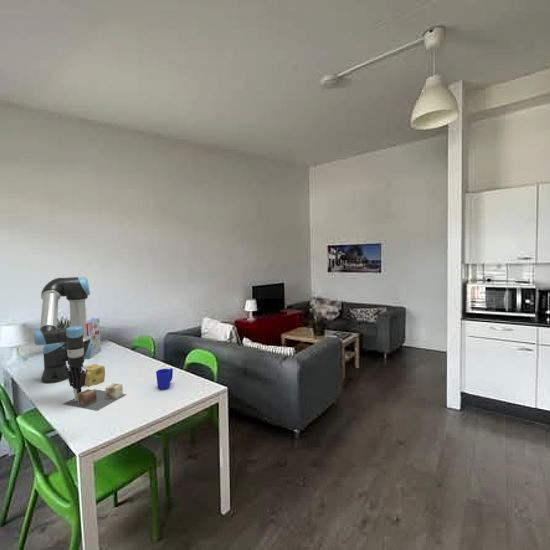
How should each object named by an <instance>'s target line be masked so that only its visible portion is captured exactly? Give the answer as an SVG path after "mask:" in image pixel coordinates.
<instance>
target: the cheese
mask: <svg viewBox="0 0 550 550" xmlns="http://www.w3.org/2000/svg"><path fill="white" fill-rule="evenodd" d="M84 369H85V370H86V369H87V370H88V371H87V373H86V379H85V386H87V387H92V386H96V385H99V384H101V383H105V380H106V379H105V378H106V368H105V365H99V364H97V363H94V364H90V365H87V366H84Z"/></svg>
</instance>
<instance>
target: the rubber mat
mask: <svg viewBox="0 0 550 550" xmlns="http://www.w3.org/2000/svg"><path fill="white" fill-rule="evenodd" d="M92 390H95V391H96V396H97V402H95V403H93V404H91V405H89V406H87V407H86V406H81V405H78V401H75V398H72V399H70V400H68V401H65V402H64V403H62V405H64V406H69V407H74V408H80V409H85V410H89V411H96V412H98V411H100V410H101V409H103V408H105V407H107V406H109V405H111V404H113V403H114V402H116V401H118V400H120V399H122V398H124V397H126V396H127V395H128V394H126V393H123V395H121V396H120V397H118V398H117V399H107V398H106V390H101V389H95V388H94V389H92Z"/></svg>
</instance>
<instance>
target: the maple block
mask: <svg viewBox="0 0 550 550" xmlns="http://www.w3.org/2000/svg"><path fill="white" fill-rule="evenodd" d="M104 390H105V391H106V398H107V399H117V398H118V397H120V396H121V395H123V394H124V393H123V392H124V389H123V383H114V382H113V383H110V384H109V385H108V386H106V387H105V389H104Z"/></svg>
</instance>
